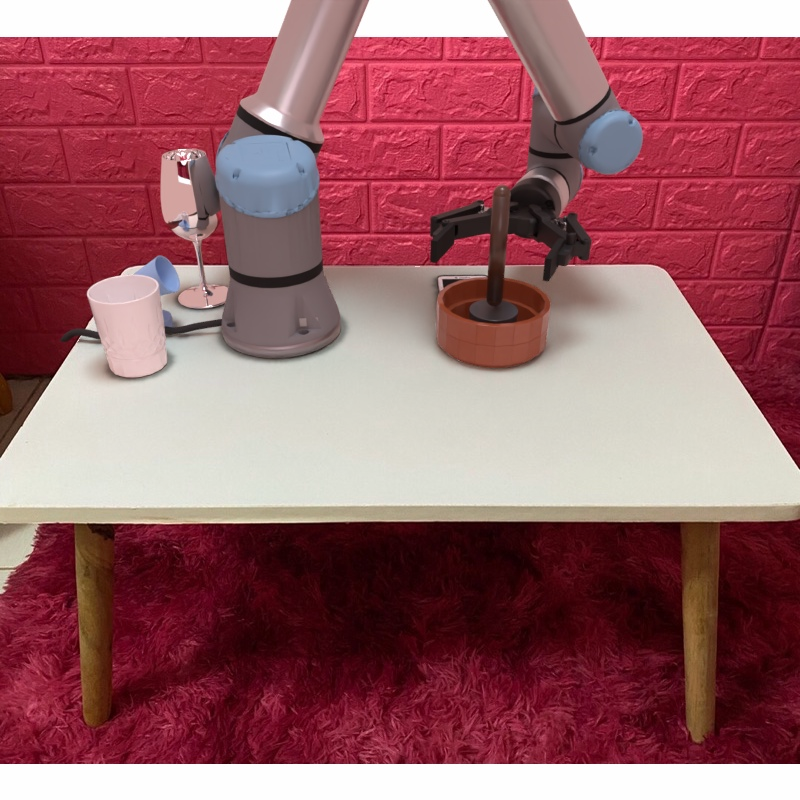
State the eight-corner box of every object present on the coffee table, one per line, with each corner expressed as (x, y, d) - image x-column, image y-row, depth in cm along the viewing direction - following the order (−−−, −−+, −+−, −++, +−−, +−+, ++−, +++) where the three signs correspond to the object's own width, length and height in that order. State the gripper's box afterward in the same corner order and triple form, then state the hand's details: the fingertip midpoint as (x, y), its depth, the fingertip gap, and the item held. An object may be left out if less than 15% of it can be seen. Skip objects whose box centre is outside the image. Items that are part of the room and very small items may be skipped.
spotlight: (190, 320, 103) (139, 319, 104) (178, 249, 98) (125, 248, 98) (179, 337, 99) (127, 336, 99) (167, 265, 94) (111, 264, 94)
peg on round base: (464, 346, 96) (472, 191, 85) (471, 324, 101) (479, 175, 90) (513, 351, 95) (527, 195, 84) (517, 329, 99) (531, 179, 89)
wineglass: (192, 315, 104) (168, 167, 94) (168, 295, 110) (142, 153, 99) (243, 299, 109) (226, 155, 98) (217, 281, 114) (198, 143, 103)
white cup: (154, 384, 90) (138, 306, 84) (92, 377, 91) (72, 300, 86) (183, 351, 96) (170, 277, 91) (125, 345, 97) (109, 272, 92)
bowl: (426, 363, 94) (427, 319, 90) (446, 313, 105) (447, 272, 102) (541, 376, 91) (546, 331, 88) (548, 323, 102) (553, 282, 99)
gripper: (623, 243, 103) (593, 308, 87) (447, 218, 111) (389, 273, 95) (632, 187, 99) (602, 245, 83) (449, 166, 107) (389, 214, 91)
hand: (488, 260), depth 89 cm, fingers open, 13 cm apart
